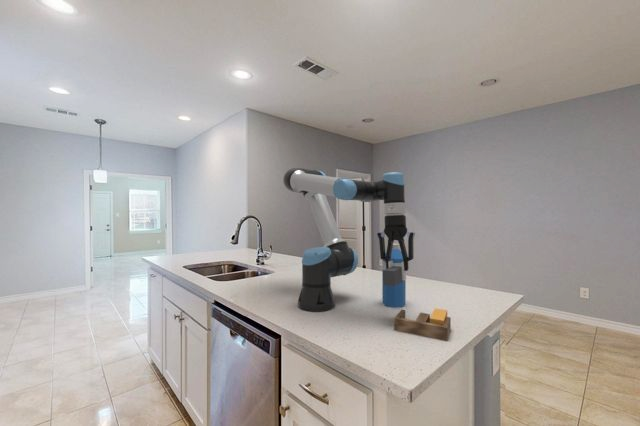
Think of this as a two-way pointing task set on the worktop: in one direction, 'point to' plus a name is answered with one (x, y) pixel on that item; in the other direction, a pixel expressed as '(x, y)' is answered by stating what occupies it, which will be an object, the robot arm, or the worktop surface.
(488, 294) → the worktop surface
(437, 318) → the tall orange brick
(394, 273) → the tall gray prism
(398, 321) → the bronze desk organizer
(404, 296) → the blue water bottle
